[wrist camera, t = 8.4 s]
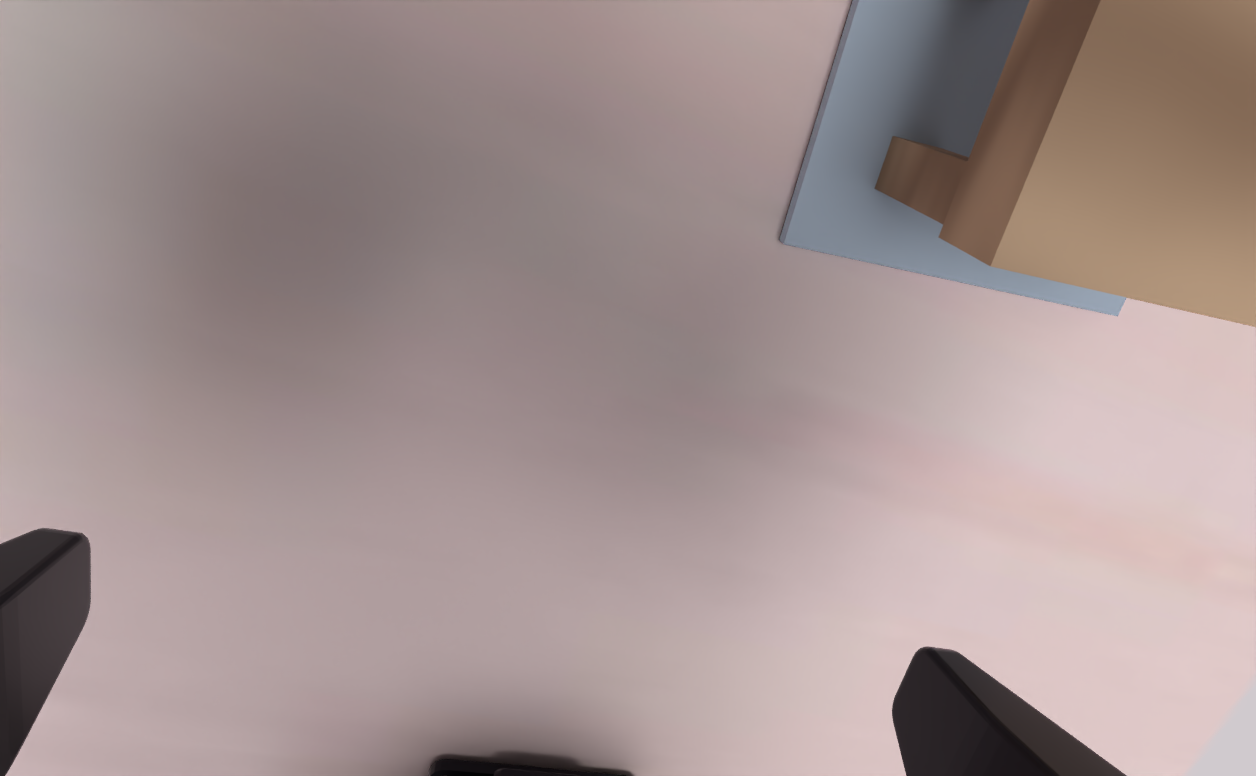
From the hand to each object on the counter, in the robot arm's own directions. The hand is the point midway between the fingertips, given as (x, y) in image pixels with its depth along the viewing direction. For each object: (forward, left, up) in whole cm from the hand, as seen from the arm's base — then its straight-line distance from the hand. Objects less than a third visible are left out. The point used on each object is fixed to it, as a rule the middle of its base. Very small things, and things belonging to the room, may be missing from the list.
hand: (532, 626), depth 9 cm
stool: (+7, -10, -12) cm, 17 cm away
